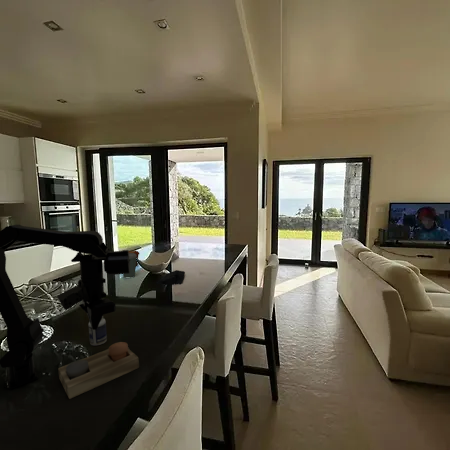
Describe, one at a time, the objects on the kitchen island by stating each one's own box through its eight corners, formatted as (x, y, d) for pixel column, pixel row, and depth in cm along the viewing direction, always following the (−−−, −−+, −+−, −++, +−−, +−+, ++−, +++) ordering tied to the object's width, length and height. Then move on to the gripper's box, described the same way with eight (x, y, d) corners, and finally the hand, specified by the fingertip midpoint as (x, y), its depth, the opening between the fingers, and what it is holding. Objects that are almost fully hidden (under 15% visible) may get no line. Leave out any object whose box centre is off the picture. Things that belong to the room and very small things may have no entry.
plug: (65, 381, 75) (63, 365, 74) (86, 372, 78) (84, 357, 78) (70, 391, 71) (68, 374, 70) (92, 381, 74) (90, 365, 74)
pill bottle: (109, 337, 98) (107, 311, 97) (103, 345, 93) (101, 317, 92) (94, 338, 98) (91, 311, 97) (87, 346, 93) (84, 318, 92)
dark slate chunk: (189, 274, 178) (188, 267, 177) (181, 285, 156) (181, 277, 156) (165, 275, 179) (165, 267, 179) (154, 286, 157) (154, 277, 157)
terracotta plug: (107, 361, 82) (105, 346, 82) (124, 354, 85) (123, 340, 85) (113, 369, 78) (112, 353, 78) (131, 361, 82) (130, 346, 81)
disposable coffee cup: (140, 274, 180) (139, 251, 179) (133, 279, 170) (132, 255, 168) (125, 274, 181) (123, 252, 180) (117, 279, 171) (115, 255, 169)
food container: (116, 266, 207) (115, 251, 206) (138, 263, 213) (137, 249, 212) (117, 270, 192) (116, 255, 191) (141, 267, 199) (140, 252, 198)
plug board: (59, 378, 76) (58, 368, 76) (123, 352, 88) (123, 343, 88) (69, 399, 68) (68, 387, 68) (139, 367, 80) (138, 357, 80)
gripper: (52, 274, 80) (55, 326, 82) (68, 290, 66) (71, 352, 68) (93, 268, 88) (95, 316, 89) (115, 280, 74) (117, 337, 75)
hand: (94, 329), depth 80 cm, fingers closed
